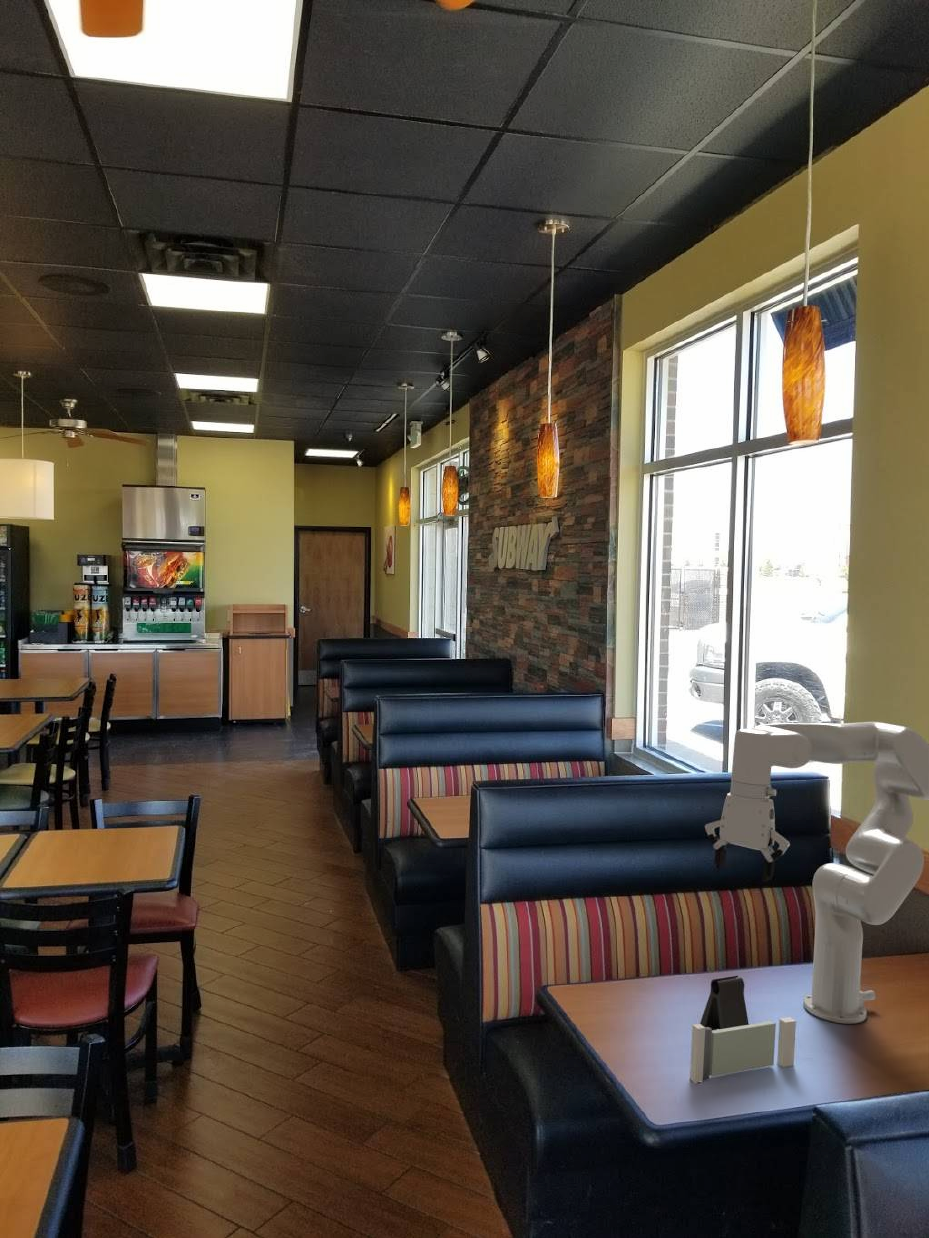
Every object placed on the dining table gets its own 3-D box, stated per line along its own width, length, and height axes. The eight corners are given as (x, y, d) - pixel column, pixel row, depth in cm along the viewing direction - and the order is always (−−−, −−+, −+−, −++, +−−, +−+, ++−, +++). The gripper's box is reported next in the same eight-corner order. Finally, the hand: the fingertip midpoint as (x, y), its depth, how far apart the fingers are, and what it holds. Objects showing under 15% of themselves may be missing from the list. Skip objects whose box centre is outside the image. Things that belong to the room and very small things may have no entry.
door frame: (787, 1060, 170) (790, 1009, 170) (793, 1065, 169) (796, 1012, 169) (689, 1078, 162) (692, 1024, 162) (695, 1083, 161) (697, 1028, 161)
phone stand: (752, 1045, 176) (755, 985, 175) (727, 1050, 173) (730, 989, 173) (722, 1024, 184) (725, 967, 184) (698, 1029, 182) (701, 971, 181)
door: (704, 1080, 162) (707, 1031, 161) (699, 1075, 163) (702, 1027, 163) (774, 1067, 167) (776, 1019, 167) (769, 1063, 169) (771, 1016, 168)
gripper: (798, 796, 179) (792, 881, 179) (716, 780, 189) (710, 860, 190) (786, 800, 173) (779, 888, 173) (701, 784, 183) (695, 867, 184)
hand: (743, 873), depth 181 cm, fingers open, 9 cm apart
